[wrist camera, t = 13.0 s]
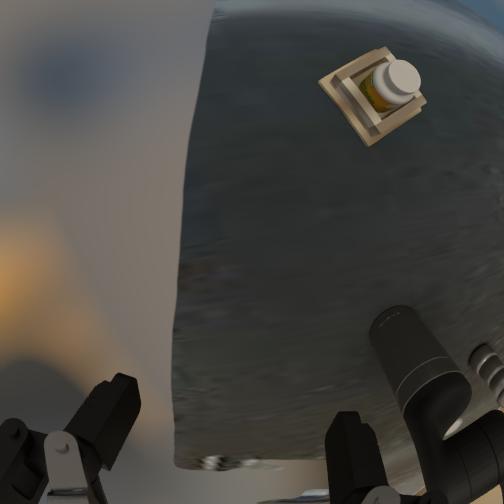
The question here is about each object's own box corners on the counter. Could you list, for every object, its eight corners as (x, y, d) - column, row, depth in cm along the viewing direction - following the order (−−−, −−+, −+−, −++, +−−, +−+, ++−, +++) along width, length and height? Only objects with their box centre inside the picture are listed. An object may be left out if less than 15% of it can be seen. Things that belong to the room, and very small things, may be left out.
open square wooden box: (418, 111, 30) (435, 106, 26) (366, 147, 33) (379, 144, 28) (373, 51, 28) (385, 38, 24) (317, 82, 31) (323, 71, 26)
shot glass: (436, 402, 46) (447, 422, 39) (456, 397, 45) (467, 416, 39) (425, 420, 48) (434, 440, 41) (445, 415, 48) (454, 433, 41)
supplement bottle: (351, 80, 30) (374, 55, 20) (385, 75, 29) (414, 53, 19) (365, 116, 31) (393, 101, 22) (398, 110, 30) (432, 96, 21)
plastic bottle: (472, 344, 41) (519, 403, 22) (492, 338, 40) (538, 391, 21) (463, 367, 43) (503, 427, 24) (483, 361, 42) (523, 415, 23)
